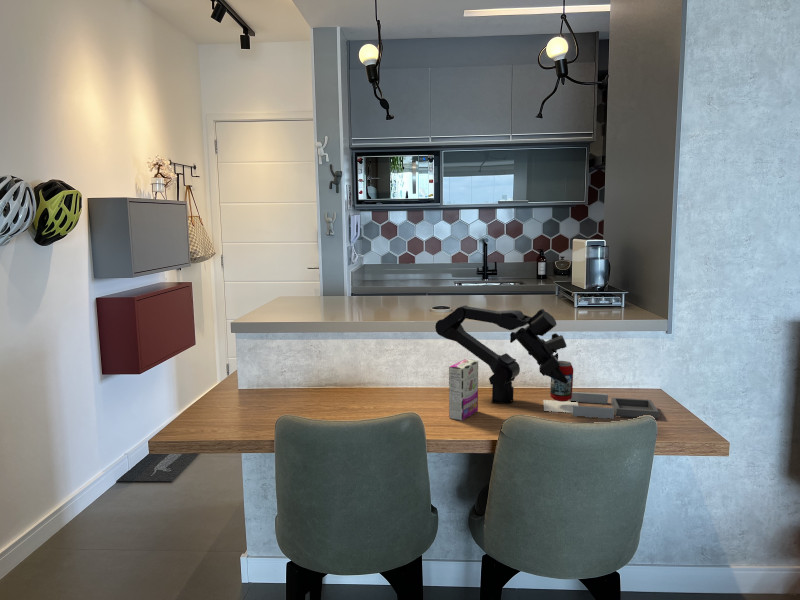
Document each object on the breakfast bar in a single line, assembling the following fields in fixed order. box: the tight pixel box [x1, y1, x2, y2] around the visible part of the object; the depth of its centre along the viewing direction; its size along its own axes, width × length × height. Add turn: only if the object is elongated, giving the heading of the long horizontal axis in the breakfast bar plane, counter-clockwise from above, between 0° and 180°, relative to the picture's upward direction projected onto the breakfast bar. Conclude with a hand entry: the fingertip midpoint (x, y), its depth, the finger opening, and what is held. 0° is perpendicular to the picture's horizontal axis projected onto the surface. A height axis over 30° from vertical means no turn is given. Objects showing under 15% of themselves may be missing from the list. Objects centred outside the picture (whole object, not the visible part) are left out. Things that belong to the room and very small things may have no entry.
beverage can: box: [549, 360, 574, 402], centre depth 194 cm, size 7×7×12 cm
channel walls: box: [568, 391, 615, 420], centre depth 193 cm, size 12×16×3 cm
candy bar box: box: [448, 358, 479, 422], centre depth 187 cm, size 11×5×16 cm, turn 148°
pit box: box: [610, 397, 659, 420], centre depth 191 cm, size 12×12×2 cm
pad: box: [542, 399, 580, 414], centre depth 195 cm, size 11×11×1 cm
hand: (566, 379), depth 194 cm, fingers closed on beverage can, 7 cm apart
